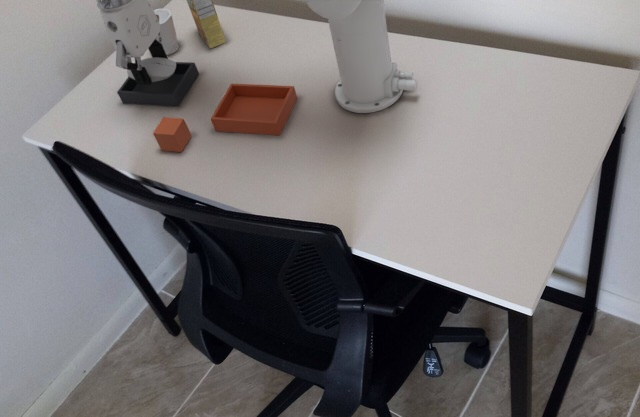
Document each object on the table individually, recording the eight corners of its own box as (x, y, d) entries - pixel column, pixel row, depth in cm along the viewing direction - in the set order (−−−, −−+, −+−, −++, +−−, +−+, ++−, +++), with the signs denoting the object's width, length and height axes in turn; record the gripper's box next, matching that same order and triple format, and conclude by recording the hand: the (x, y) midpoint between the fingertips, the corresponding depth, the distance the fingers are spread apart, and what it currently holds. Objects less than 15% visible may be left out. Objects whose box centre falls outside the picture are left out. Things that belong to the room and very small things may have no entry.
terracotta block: (191, 135, 121) (183, 118, 118) (182, 152, 119) (173, 134, 116) (171, 134, 123) (163, 116, 120) (161, 150, 120) (152, 133, 117)
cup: (165, 62, 139) (151, 30, 133) (141, 48, 145) (126, 17, 139) (190, 45, 142) (177, 13, 136) (165, 32, 148) (152, 0, 142)
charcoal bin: (199, 74, 134) (194, 62, 132) (178, 106, 128) (173, 95, 126) (145, 72, 138) (139, 60, 136) (123, 103, 132) (116, 92, 130)
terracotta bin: (297, 98, 122) (294, 86, 120) (279, 135, 116) (275, 123, 114) (235, 95, 127) (230, 83, 125) (215, 131, 121) (210, 119, 119)
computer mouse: (174, 80, 128) (168, 68, 125) (127, 86, 129) (121, 74, 127) (180, 62, 131) (174, 49, 129) (134, 68, 133) (128, 56, 131)
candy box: (197, 31, 145) (173, -32, 134) (214, 24, 146) (191, -40, 134) (210, 49, 139) (185, -15, 128) (227, 41, 140) (205, -23, 129)
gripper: (109, 20, 111) (150, 101, 124) (154, -34, 121) (187, 46, 134) (74, 20, 113) (117, 99, 126) (121, -33, 123) (156, 45, 136)
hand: (153, 71), depth 130 cm, fingers closed on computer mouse, 6 cm apart
